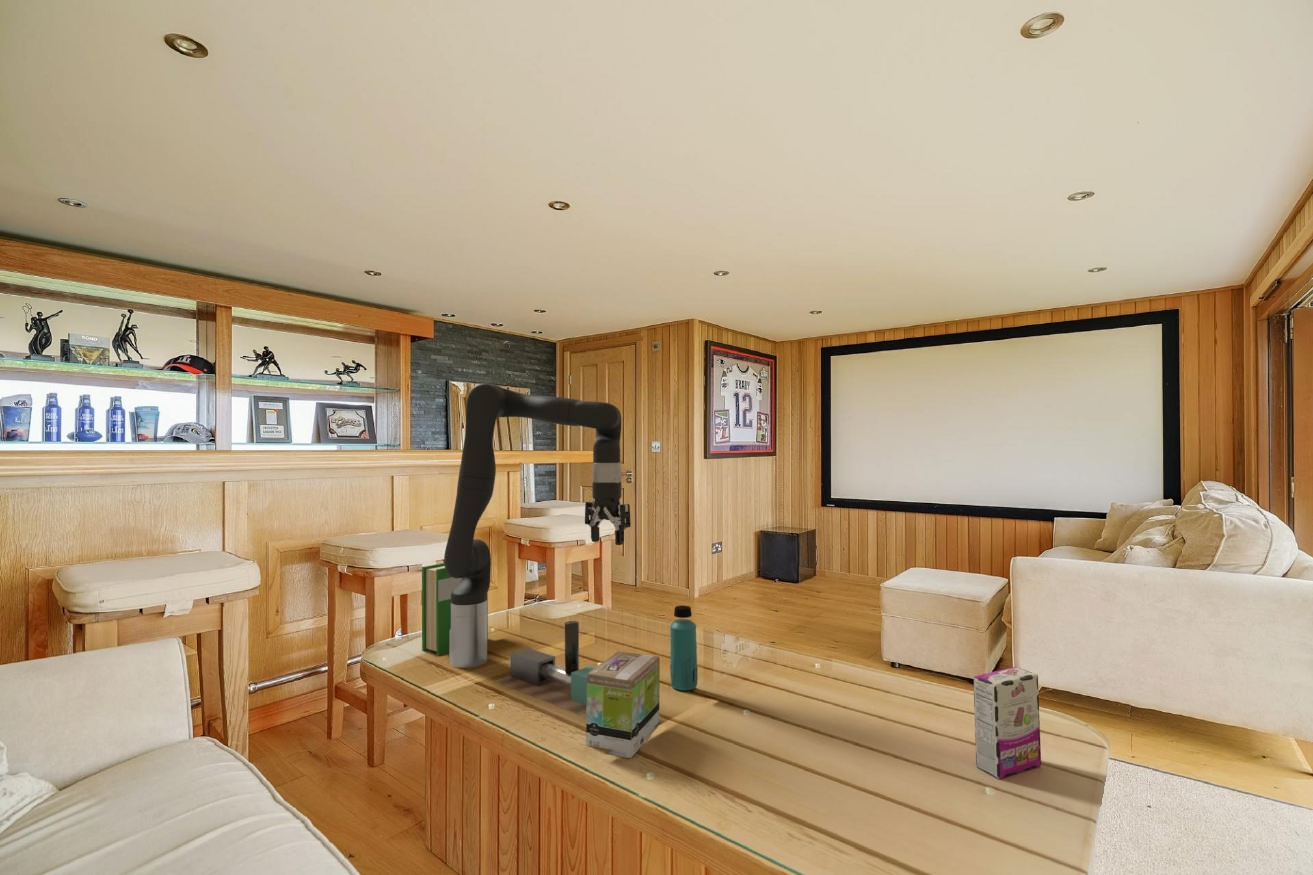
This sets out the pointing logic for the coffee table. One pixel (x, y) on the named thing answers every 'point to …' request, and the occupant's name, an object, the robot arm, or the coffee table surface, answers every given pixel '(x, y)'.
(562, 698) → the base board
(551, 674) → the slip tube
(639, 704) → the tea box
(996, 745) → the candy bar box
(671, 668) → the beverage bottle
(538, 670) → the grey block
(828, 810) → the coffee table surface
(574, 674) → the socket
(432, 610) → the hardback book
